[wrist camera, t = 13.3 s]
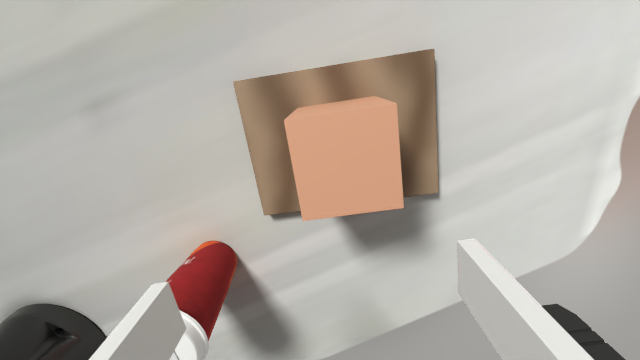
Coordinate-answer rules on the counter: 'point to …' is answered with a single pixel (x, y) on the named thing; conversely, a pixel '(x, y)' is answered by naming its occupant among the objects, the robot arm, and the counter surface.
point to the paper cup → (201, 295)
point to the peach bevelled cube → (346, 157)
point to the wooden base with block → (333, 86)
